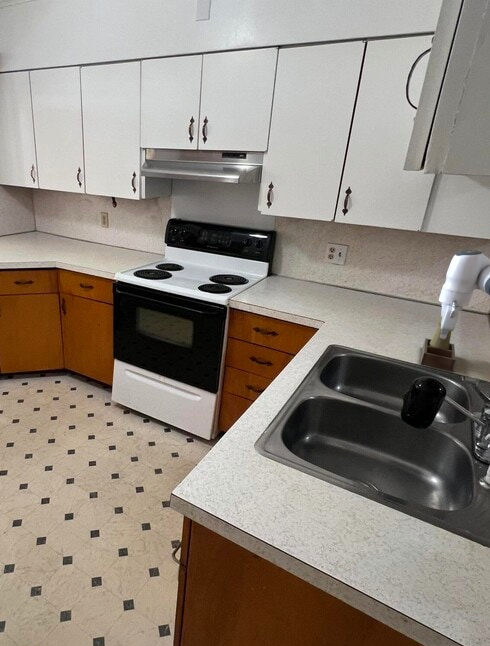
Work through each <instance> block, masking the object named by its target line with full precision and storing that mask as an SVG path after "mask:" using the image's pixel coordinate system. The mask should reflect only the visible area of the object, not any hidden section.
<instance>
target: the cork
mask: <svg viewBox="0 0 490 646" xmlns="http://www.w3.org/2000/svg"><path fill="white" fill-rule="evenodd" d="M450 318H451V317H450ZM441 321H442V317H441V316H440V317H439V318H438V320H437V324H438V326H437V327H436V330H435V332H434V334H433V336H432V338H431V339H432V340H431V342H430V344H429V345H430V346H432V347H437V348H441V349H446V350H447V349H449V343H451V337H452V331H449V332H448V334H447V337H446V339H442V338H440V334H441V331H442V329H441Z"/></svg>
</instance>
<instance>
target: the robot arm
mask: <svg viewBox="0 0 490 646" xmlns="http://www.w3.org/2000/svg"><path fill="white" fill-rule="evenodd" d="M445 274H446V276H445V282H444V284H443V285H442V288H441V290H440V294H439V297H438V301H439V302H440V303H441V310H440V311H441V313H440V317H442V321H441V329H442V331H441V334H440V338H442V339H446V337H447V334H448V332H449V331H451V332H454V330H455V328H456V326H457V325H456V324H457V322H458V318H459V315H460V311H462V310H463V309H464V307H469V305H470V302H471V299H472V296H473V293H474V292H475V290H480V291H481V292H483V293H485V294H487V295H488V296H490V258H489V257H488V256H486V254H484V253H483V252H482V251H481V250H475V249H474V250H471V249H467V250H466V249H465V250H461V251H458V252H456V253H455V254H454V255H453V257H452V259H451V261H450V264H449V266H448V268H447V272H446V273H445ZM450 317H451V318H450Z"/></svg>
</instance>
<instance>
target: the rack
mask: <svg viewBox="0 0 490 646" xmlns="http://www.w3.org/2000/svg"><path fill="white" fill-rule="evenodd" d="M431 340H432V338H424V342H423V345H422V348H421V357H420V366H425V367H429V368H433V369H437V370H442V371H446V372H450V373H452V372H453V369H454V366H455V363H456V350H455V344H454V343H451V342H450V343H449V349H447V350H446V349H441V348H437V347H432V346H430V345H429V344H430V342H431Z"/></svg>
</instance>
